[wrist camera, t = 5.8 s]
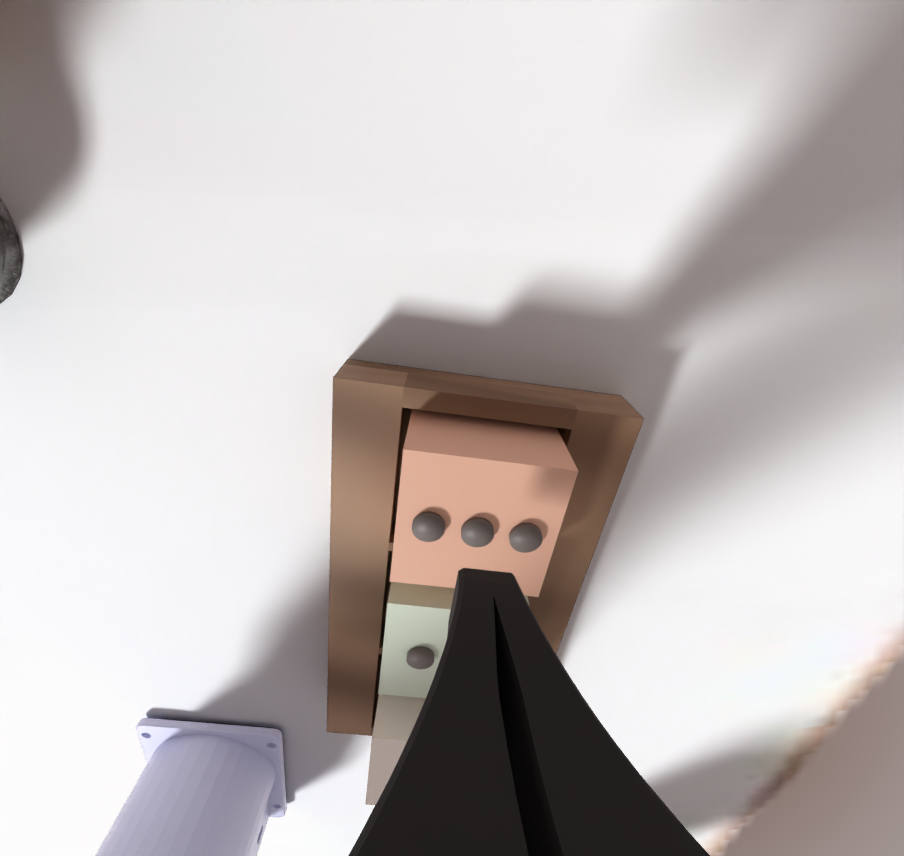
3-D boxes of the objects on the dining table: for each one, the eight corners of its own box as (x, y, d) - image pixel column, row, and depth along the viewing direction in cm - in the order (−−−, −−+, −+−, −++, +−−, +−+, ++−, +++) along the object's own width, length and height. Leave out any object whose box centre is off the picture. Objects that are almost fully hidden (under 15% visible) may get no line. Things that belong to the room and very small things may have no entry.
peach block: (523, 533, 17) (539, 602, 14) (400, 519, 17) (389, 586, 14) (554, 422, 15) (580, 474, 12) (413, 404, 15) (402, 452, 11)
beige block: (476, 732, 21) (480, 818, 18) (377, 724, 21) (364, 810, 18) (494, 669, 19) (502, 754, 16) (384, 658, 19) (371, 743, 16)
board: (515, 707, 24) (520, 748, 22) (336, 692, 23) (326, 731, 21) (621, 396, 15) (643, 418, 14) (347, 358, 15) (333, 377, 13)
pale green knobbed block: (496, 634, 20) (504, 710, 17) (389, 623, 19) (377, 699, 16) (518, 552, 17) (532, 622, 14) (398, 539, 17) (386, 607, 14)
